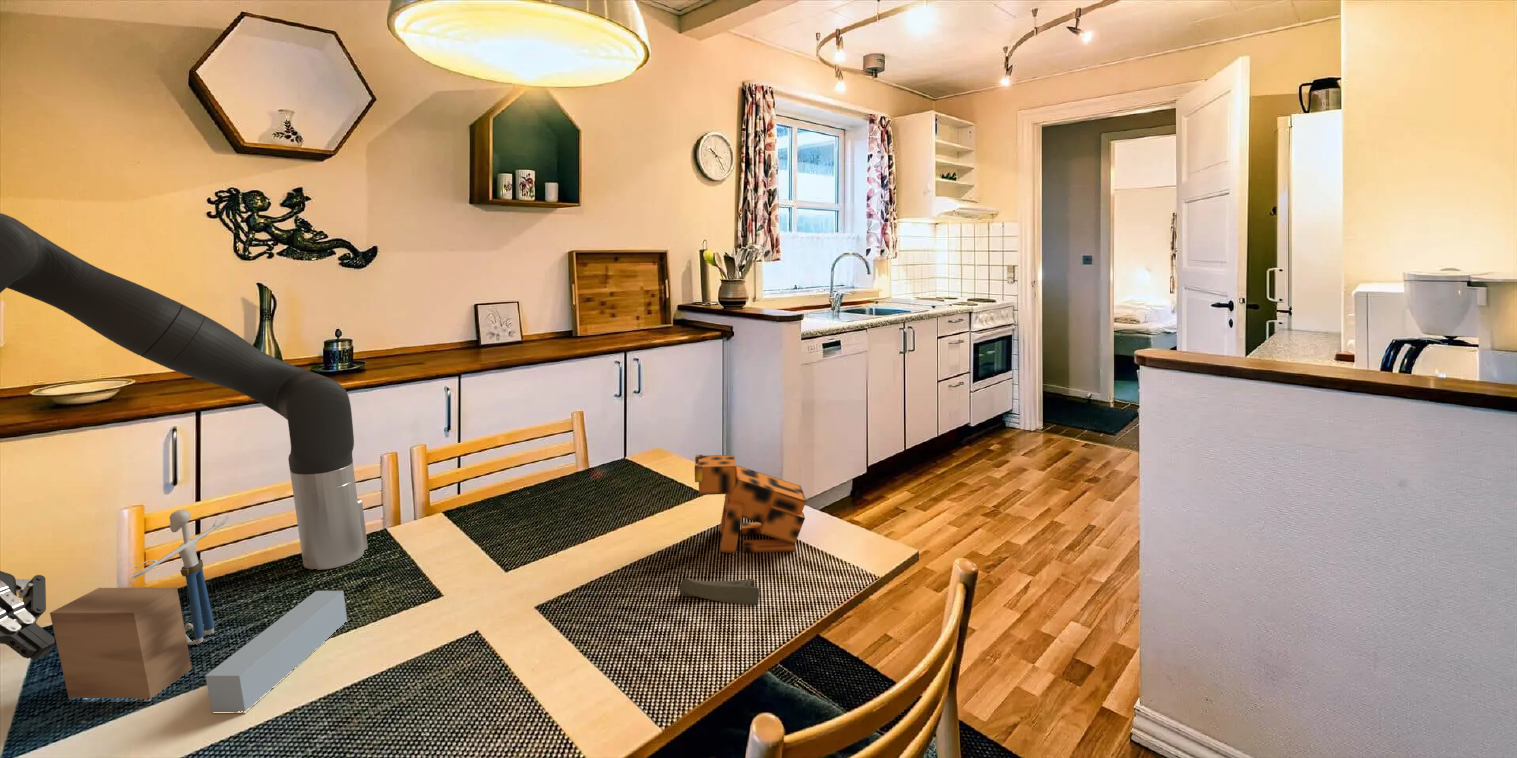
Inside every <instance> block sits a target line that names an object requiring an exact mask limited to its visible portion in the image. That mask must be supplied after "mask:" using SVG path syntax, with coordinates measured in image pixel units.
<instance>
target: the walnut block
mask: <svg viewBox="0 0 1517 758" xmlns="http://www.w3.org/2000/svg"><path fill="white" fill-rule="evenodd" d="M180 601H181V600H180V596H179V591H178V587H97V588H95V589H94V590H92V591H90V592H87V593H86V594H84V595H81V596H80V597H78V598H76V599H74V600H72V601H70V602H69V603H67V604H64V605H62V606H61V607H58V608H56V609H54V610H53V611H51V612H49V616H50V620H51V621H50V622H51V624H52V629H53V633H54V639H55V644H56V647H57V652H58V656H59V660H60V664H61V665H60V666H61V670H62V674H63V678H64V684H65V688H66V692H67V697H68V699H69V698H79V697H82V698H135V699H136V698H137V699H147V698H149V699H151V698H152V697H154V696H155V695H157V694H158V693H160V692H162V690H163V689H166V688H167V687H168V686H170V685H171V684H172V683H173V682H176V681H177V680H178V679H179V678H181V677H182V676H183V675H184V674H186V673H187V672H189V671H190V670H191V669H192V670H193V668H192V663H191V657H190V651H189V646H188V645H187V639H186V635H187V634H185V628H184V627H185V624H184V619H183V614H182V613H183V612H182V607H181V602H180Z"/></svg>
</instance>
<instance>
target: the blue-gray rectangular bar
mask: <svg viewBox="0 0 1517 758" xmlns="http://www.w3.org/2000/svg"><path fill="white" fill-rule="evenodd" d="M344 593H345V592H344V590H315V591H314V592H313V593H312V594H310V595H309V596H307V597H306V598H305V599H304V600H302V601H300V603H299V604H297V605H296V606H295V607H293V608H292V609H290V610H289V611H288V612H287V613H285V614H283V615H282V616H281V617H280V618H278V619H277V620H276V621H275V622H273V623H271V625H270V626H268V627H267V628H266V629H264V630H263V631H262V632H260V633H259V634H258V635H257V636H255V637H253V638H252V639H251V640H250V641H249V642H247V643H246V644H245V645H243V646H242V647H241V648H239V649H238V650H236V652H234V653H233V654H232V655H231V656H228V658H227V659H225V660H223V661H222V662H221V663H220V664H219V665H217V666H216V667H215V668H213V669H212V670H211V671H209V672H208V673H207V674H205V676H204V677H205V682H206V687H207V692H208V699H209V704H210V710H211V713H212V712H238V711H240V712H241V711H243V712H244V711H246V710H247V709H248V708H250V707H251V706H252V705H253V704H254V703H255V702H256V701H258V700H259V699H260V697H262V696H263V695H264V694H265V693H267V692H268V691H269V690H270V689H272V687H273V686H275V685H276V684H277V683H278V682H279V681H280V680H281V679H282V678H284V677H285V676H286V675H287V674H288V673H289V672H290V671H292V670H293V669H294V668H295V667H297V666H298V664H300V663H301V664H302V663H303V662H302V661H303V660H304V659H306V658H307V657H308V656H309V655H310V654H311V653H312V652H314V651H315V649H316V648H318V647H319V646H320V645H321V644H322V643H323V642H324V641H325V640H327V639H328V638H329V637H330V636H331V635H332V634H333V633H334V632H336V630H337V629H339V628H340V627H341V626H342V625H344V623H345V622H347V623H348V616H347V615H348V614H347V609H346V608H347V607H346V602H345V594H344ZM344 626H345V625H344ZM342 627H343V626H342ZM342 627H341V628H342ZM341 628H340V629H341ZM340 629H339V630H340ZM336 633H337V632H336ZM332 636H333V635H332ZM332 636H331V637H332ZM331 637H330V638H331ZM330 638H329V639H330ZM329 639H328V640H329ZM328 640H327V641H328ZM322 645H323V644H322ZM322 645H321V646H322ZM321 646H320V647H321ZM320 647H319V648H320ZM319 648H318V649H319ZM315 652H316V651H315ZM312 654H313V653H312ZM312 654H311V655H312ZM311 655H310V656H311ZM310 656H309V657H310ZM309 657H308V658H309ZM308 658H307V659H308ZM307 659H306V660H307ZM301 664H300V665H301ZM298 667H299V666H298ZM298 667H297V668H298ZM293 671H294V670H293ZM293 671H292V672H293ZM272 690H273V689H272Z"/></svg>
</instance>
